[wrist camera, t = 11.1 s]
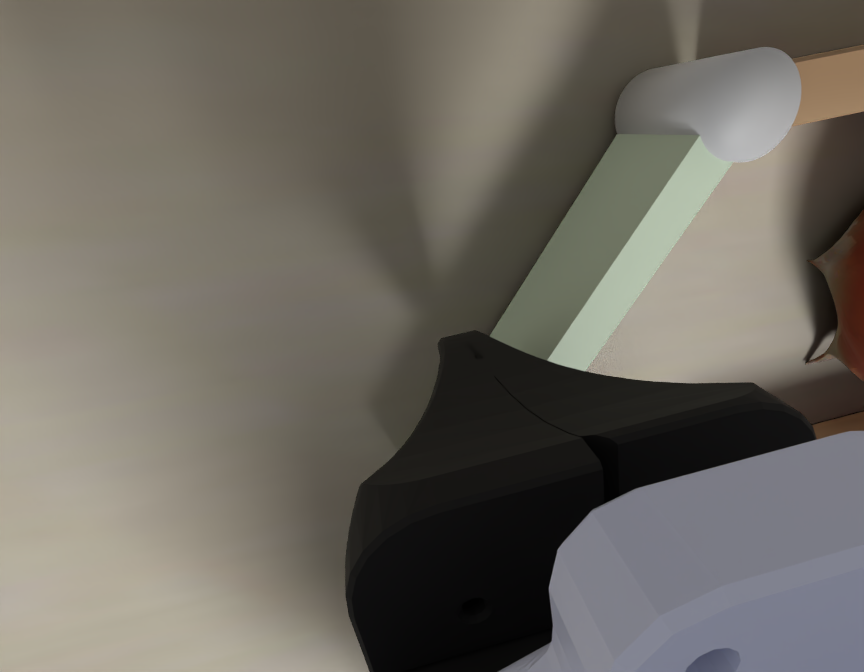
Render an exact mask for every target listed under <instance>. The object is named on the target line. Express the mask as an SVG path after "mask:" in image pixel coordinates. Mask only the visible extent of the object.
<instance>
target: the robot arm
mask: <svg viewBox="0 0 864 672" xmlns="http://www.w3.org/2000/svg"><path fill="white" fill-rule="evenodd" d="M438 349H439V354H440V364H439V370H438V376H437V380H436V383H435V386H434V390H433V393H432V396H431V399H430V401H429V404H428V406H427V408H426V410H425V412H424V414H423V416H422V418H421V420H420V422H419V423H418V425H417V427H416V428H415V430H414V432H413V433H412V435H411V436H410V438H409V439H408V440H407V442H406V443H405V444H404V445H403V446H402V448H401V449H400V450H399V451H398V452H397V453H396V454H395V455H394V456H393V457H392V458H391V459H390V460H389V461H388V462H387V463H386V464H385V465H383V466H382V467H381V468H380V469H379V470H377V471H376V472H375V473H374V474H373V475H372V476H370V477H369V478H368V479H367V480H365V481H364V482H363V483H362V484H361V485H360V487H359V490H358V493H357V497H356V501H355V505H354V509H353V513H352V518H351V523H350V528H349V535H348V542H347V549H346V561H345V586H346V601H347V607H348V613H349V617H350V620H351V622H352V625H353V628H354V631H355V633H356V636H357V639H358V641H359V644H360V647H361V649H362V652H363V655H364V657H365V660H366V663H367V665H368V668H369V671H370V672H864V431H848V432H844V433H839V434H836V435H832V436H828V437H824V438H821V439H817V438H816V435H815V432H814V428H813V426H812V425H811V424H810V423H809V422H808V421H807V419H806V418H805V417H804V416H803V415H802V414H801V413H800V412H798V411H797V410H795V409H794V408H792V407H790V406H789V405H787V404H786V403H784V402H783V401H781V400H779V399H778V398H776V397H775V396H773V395H771V394H770V393H768V392H767V391H765V390H763V389H762V388H760V387H759V386H757V385H756V384H754V383H698V384H692V383H670V382H653V381H642V380H633V379H626V378H619V377H612V376H605V375H600V374H595V373H590V372H586V371H582V370H578V369H574V368H570V367H566V366H562V365H559V364H556V363H553V362H550V361H547V360H544V359H541V358H538V357H535V356H533V355H530V354H528V353H525V352H523V351H521V350H518V349H516V348H514V347H511V346H509V345H507V344H505V343H503V342H500V341H498V340H496V339H494V338H492V337H490V336H488V335H485V334H483V333H481V332H479V331H476V330H474V331H470V332H466V333H462V334H457V335H453V336H449V337H445V338H441V340H440V341H439V342H438Z"/></svg>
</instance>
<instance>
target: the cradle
mask: <svg viewBox="0 0 864 672" xmlns="http://www.w3.org/2000/svg"><path fill="white" fill-rule="evenodd" d="M792 60H793V61H794V63H795V65H796V66H797V69H798V71H799V75H800V79H801V100H800V105H799V109H798V112H797V115H796V118H795V120H794V122H793V124H792V126H796V125H801V124H806V123H811V122H816V121H820V120H825V119H830V118H835V117H839V116H844V115H849V114H854V113H858V112H863V111H864V45H859V46H854V47H849V48H844V49H839V50H834V51H829V52H824V53H818V54H813V55H808V56H803V57H798V58H793V59H792ZM792 126H791V127H792ZM812 426H813V428H814V432H815V435H816V438H817V439H821V438H824V437H828V436H832V435H836V434H839V433H844V432H848V431H864V411H863V412H859V413H856V414H852V415H848V416H844V417H841V418H837V419H833V420H829V421H825V422H822V423H818V424H814V425H812Z"/></svg>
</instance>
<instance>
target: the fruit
mask: <svg viewBox="0 0 864 672" xmlns="http://www.w3.org/2000/svg"><path fill="white" fill-rule="evenodd" d="M807 261H808V262H811V263H812V264H814V265H815V266H816V267H817V268H818V269H819V270H820V271H821V272H822V273H823V274H824V275H825V278H826V281H827V283H828V286H829V289H830V291H831V294H832V297H833V300H834V303H835V307H836V311H837V316H838V327H837V331H836V334H835V337H834V340H833V342H832V343H831V345H830V347H829V348H828V349H827V351H826V352H825V353H824V354H822V355H821V356H819V357H817V358H815V359H813V360H810V361H808V362H806V364H812V363H816V362H821V361H825V360H829V359H833V358H837V359H839V360H840V361H841V362H843V363H844V364H845V365H846V366H847V367H848V368H849V369H850V370H851V372H852V373H854V374H855V375H856V376H857V377H858V378H860V379H861V380H863V381H864V209H863V210H862V212H861V213H860V215H859V216H858V217H857V218H856V219H855V220H854V221H853V223H852V224H851V225H850V227H849V228H848V229H847V231H846V232H845V233H844V234H843V236H842V237H841V238H840V239H839V240H838V241H837V242H836V243H835V244H834V245H833V246H832V247H831V248H830V249H829V250H828V251H826V252H825V253H824V254H822V255H821V256H819V257H818V258H817V259H815V260H807Z"/></svg>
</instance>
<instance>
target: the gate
mask: <svg viewBox="0 0 864 672" xmlns="http://www.w3.org/2000/svg"><path fill="white" fill-rule="evenodd" d="M800 100H801V79H800V75H799V71H798V69H797V66H796V65H795V63H794V61H793V60H792V59H791V58H790V57H789V56H788V55H787V54H786V53H785V52H783V51H781V50H779V49H776V48H773V47H759V48H754V49H749V50H744V51H739V52H734V53H729V54H724V55H719V56H714V57H709V58H703V59H698V60H693V61H688V62H683V63H678V64H673V65H668V66H663V67H658V68H653V69H649V70H646V71H644V72H642V73H640V74H638V75H637V76H635V77H634V78H633V79H632V80H631V81H630V82H629V83H628V84H627V85H626V87H625V88H624V90H623V91H622V93H621V95H620V97H619V100H618V103H617V106H616V111H615V127H616V131H617V135H616V137H615V138H614V140H613V141H612V143H611V145H610V146H609V148H608V149H607V151H606V153H605V154H604V156H603V157H602V159H601V160H600V162H599V164H598V165H597V167H596V168H595V170H594V172H593V173H592V175H591V176H590V178H589V179H588V181H587V183H586V184H585V186H584V187H583V189H582V191H581V192H580V194H579V195H578V197H577V198H576V200H575V202H574V203H573V205H572V206H571V208H570V210H569V211H568V213H567V214H566V216H565V217H564V219H563V221H562V222H561V224H560V225H559V227H558V228H557V230H556V232H555V233H554V235H553V236H552V238H551V240H550V241H549V243H548V244H547V246H546V247H545V249H544V251H543V252H542V254H541V255H540V257H539V259H538V260H537V262H536V263H535V265H534V266H533V268H532V270H531V271H530V273H529V274H528V276H527V278H526V279H525V281H524V282H523V284H522V285H521V287H520V289H519V290H518V292H517V293H516V295H515V297H514V298H513V300H512V301H511V303H510V304H509V306H508V308H507V309H506V311H505V312H504V314H503V316H502V317H501V319H500V320H499V322H498V323H497V325H496V327H495V328H494V330H493V331H492V333H491V335H490V337H492V338H494V339H496V340H498V341H500V342H503V343H505V344H507V345H509V346H511V347H514V348H516V349H518V350H521V351H523V352H525V353H528V354H530V355H533V356H535V357H538V358H541V359H544V360H547V361H550V362H553V363H556V364H559V365H562V366H566V367H570V368H574V369H578V370H582V371H586V370H587V368H588V367H589V365H590V364H591V362H592V361H593V360H594V358H595V357H596V355H597V354H598V353H599V351H600V350H601V348H602V347H603V345H604V344H605V343H606V341H607V340H608V338H609V337H610V336H611V334H612V333H613V331H614V330H615V329H616V327H617V326H618V324H619V323H620V321H621V320H622V319H623V317H624V316H625V314H626V313H627V312H628V310H629V309H630V307H631V306H632V304H633V303H634V302H635V300H636V299H637V297H638V296H639V295H640V293H641V292H642V290H643V289H644V288H645V286H646V285H647V283H648V282H649V280H650V279H651V278H652V276H653V275H654V273H655V272H656V271H657V269H658V268H659V266H660V265H661V263H662V262H663V261H664V259H665V258H666V256H667V255H668V254H669V252H670V251H671V249H672V248H673V247H674V245H675V244H676V242H677V241H678V239H679V238H680V237H681V235H682V234H683V232H684V231H685V230H686V228H687V227H688V225H689V224H690V222H691V221H692V220H693V218H694V217H695V215H696V214H697V213H698V211H699V210H700V208H701V207H702V206H703V204H704V203H705V201H706V200H707V198H708V197H709V196H710V194H711V193H712V191H713V190H714V189H715V187H716V186H717V184H718V183H719V181H720V180H721V179H722V177H723V176H724V174H725V173H726V172H727V170H728V169H729V167H730V166H731V165H732V163H733V162H748V161H753V160H755V159H758V158H760V157H762V156H764V155H766V154H767V153H768V152H770V151H771V150H772V149H774V148H775V147H776V146H777V145H778V144H779V143H780V142H781V141H782V139H783V138H784V137H785V136H786V134H787V133H788V131H789V130H790V128H791V126H792V124H793V122H794V120H795V118H796V115H797V112H798V109H799V105H800Z"/></svg>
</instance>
